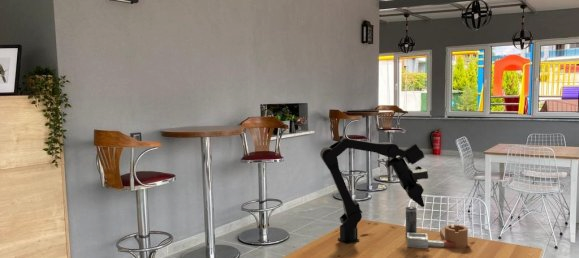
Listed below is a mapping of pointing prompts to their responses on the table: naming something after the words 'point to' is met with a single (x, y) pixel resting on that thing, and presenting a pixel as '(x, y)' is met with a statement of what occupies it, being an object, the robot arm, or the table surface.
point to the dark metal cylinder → (411, 220)
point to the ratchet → (426, 241)
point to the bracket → (455, 235)
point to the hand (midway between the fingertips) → (420, 203)
